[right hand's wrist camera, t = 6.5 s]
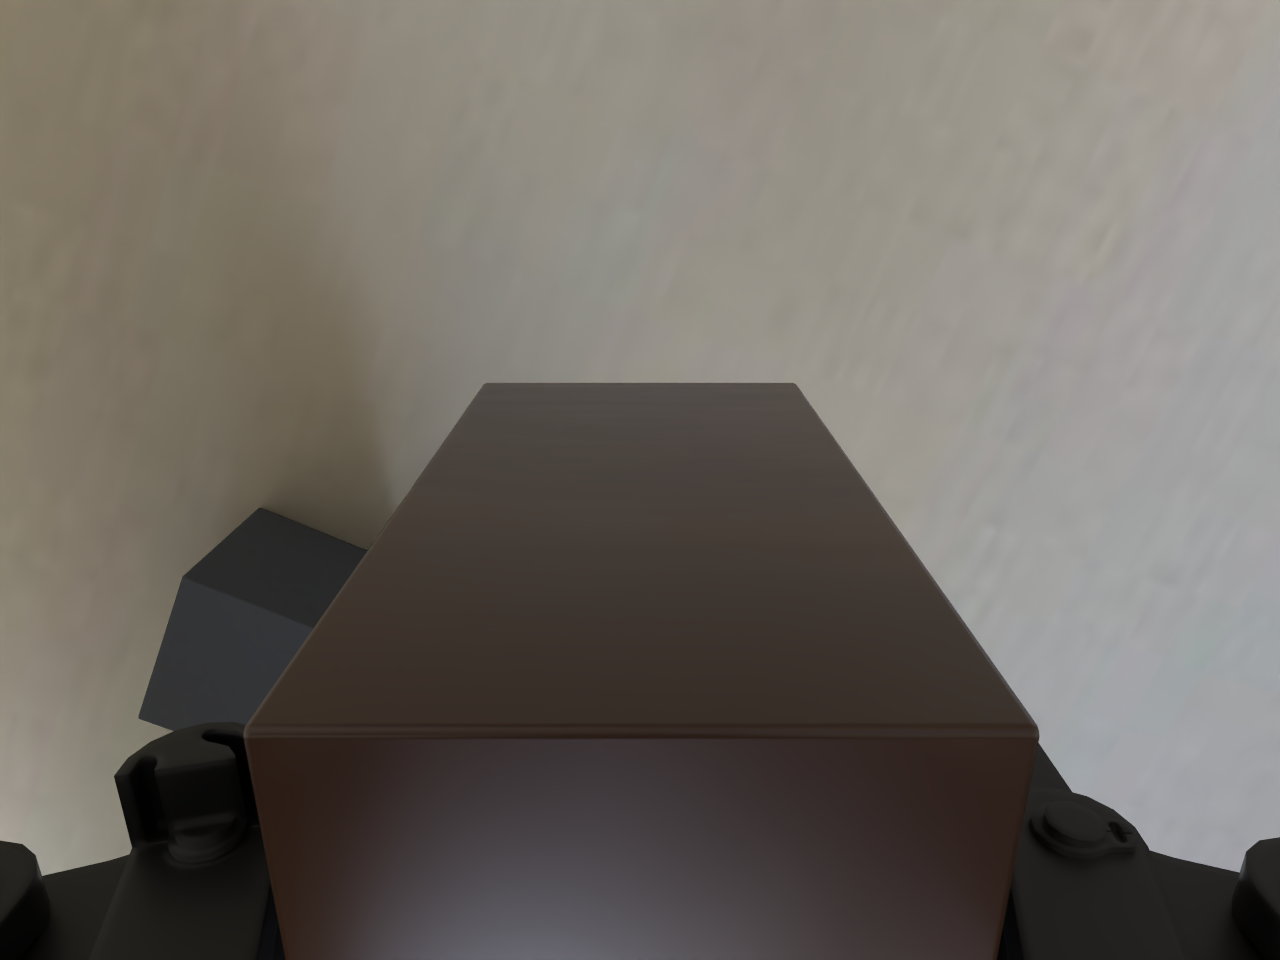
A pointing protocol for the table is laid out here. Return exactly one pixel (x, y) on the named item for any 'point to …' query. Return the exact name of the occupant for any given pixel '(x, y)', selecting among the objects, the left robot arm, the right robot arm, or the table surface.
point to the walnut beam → (641, 705)
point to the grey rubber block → (243, 620)
